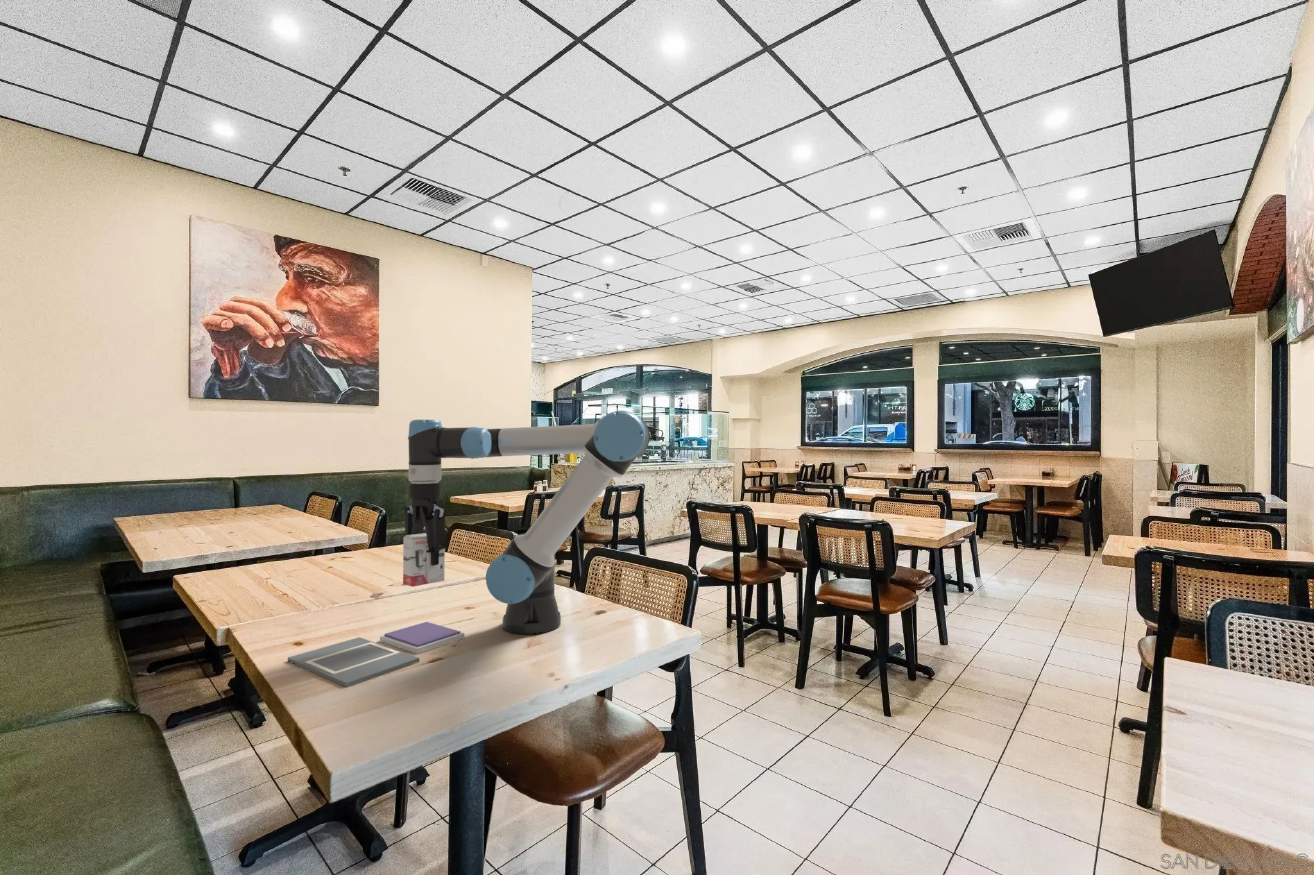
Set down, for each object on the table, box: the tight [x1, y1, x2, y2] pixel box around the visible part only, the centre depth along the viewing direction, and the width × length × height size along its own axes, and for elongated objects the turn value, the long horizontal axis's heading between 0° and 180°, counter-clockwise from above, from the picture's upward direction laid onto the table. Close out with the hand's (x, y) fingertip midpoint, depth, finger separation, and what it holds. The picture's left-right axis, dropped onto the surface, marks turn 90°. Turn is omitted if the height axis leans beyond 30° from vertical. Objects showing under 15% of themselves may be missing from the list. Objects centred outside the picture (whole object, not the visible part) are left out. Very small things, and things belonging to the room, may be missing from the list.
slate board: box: [287, 636, 420, 688], centre depth 125 cm, size 24×16×1 cm, turn 57°
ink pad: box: [379, 621, 466, 655], centre depth 139 cm, size 15×13×2 cm
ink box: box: [402, 532, 446, 588], centre depth 139 cm, size 9×5×12 cm, turn 139°
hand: (424, 576), depth 139 cm, fingers closed on ink box, 5 cm apart
